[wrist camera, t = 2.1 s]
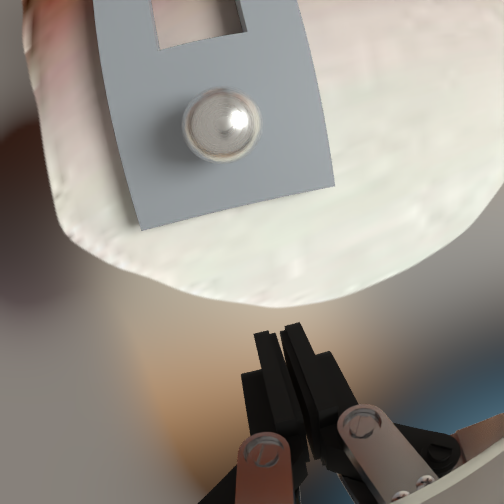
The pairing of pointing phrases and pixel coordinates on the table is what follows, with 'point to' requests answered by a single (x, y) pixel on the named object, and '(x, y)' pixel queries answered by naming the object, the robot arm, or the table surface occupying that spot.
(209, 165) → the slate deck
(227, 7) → the table surface
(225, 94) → the steel ball
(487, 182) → the table surface
